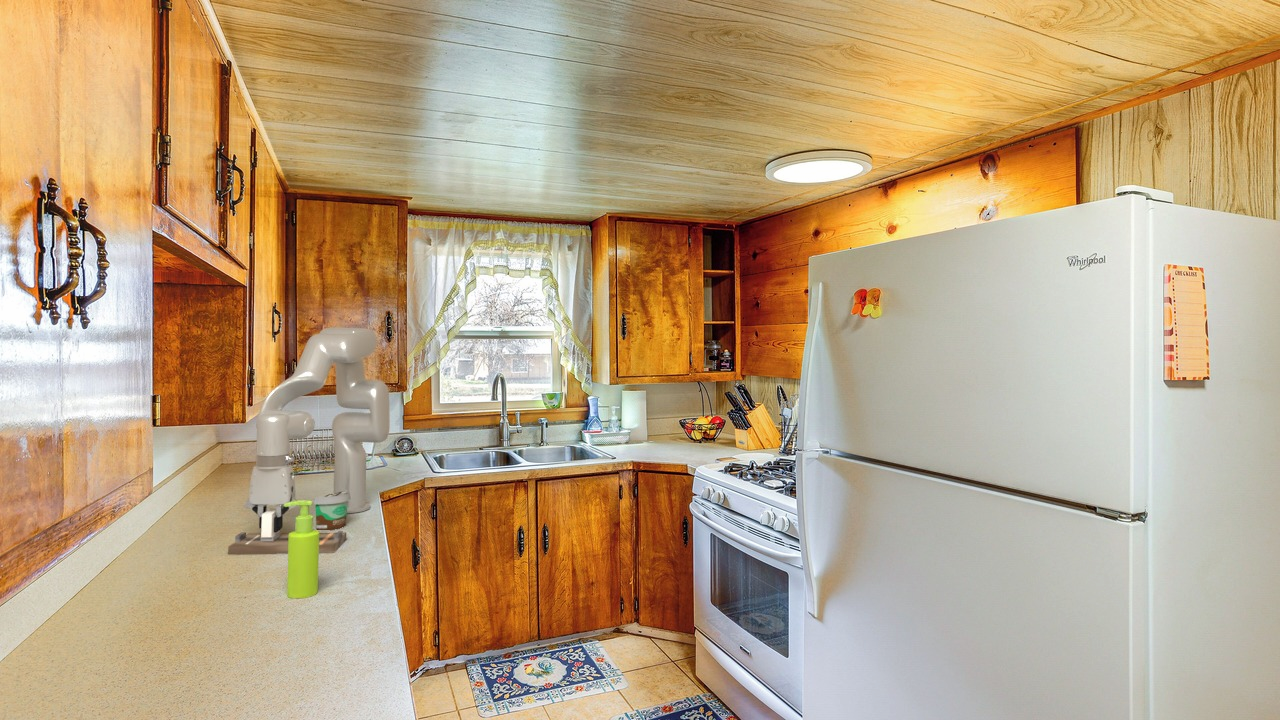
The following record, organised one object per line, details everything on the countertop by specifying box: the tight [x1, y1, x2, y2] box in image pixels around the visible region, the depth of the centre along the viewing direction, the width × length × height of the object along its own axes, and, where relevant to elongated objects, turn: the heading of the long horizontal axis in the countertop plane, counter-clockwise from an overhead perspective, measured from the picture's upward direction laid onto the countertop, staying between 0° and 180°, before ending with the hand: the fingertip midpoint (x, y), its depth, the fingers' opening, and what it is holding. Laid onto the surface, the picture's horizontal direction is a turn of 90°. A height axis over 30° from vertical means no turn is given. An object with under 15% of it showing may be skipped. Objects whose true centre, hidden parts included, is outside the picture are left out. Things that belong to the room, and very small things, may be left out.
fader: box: [260, 508, 281, 542], centre depth 174 cm, size 6×3×7 cm, turn 10°
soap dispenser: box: [284, 499, 320, 599], centre depth 143 cm, size 6×7×20 cm
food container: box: [313, 489, 351, 531], centre depth 195 cm, size 12×6×10 cm, turn 168°
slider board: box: [227, 530, 347, 555], centre depth 175 cm, size 12×25×4 cm, turn 100°
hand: (270, 530), depth 174 cm, fingers closed on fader, 2 cm apart
